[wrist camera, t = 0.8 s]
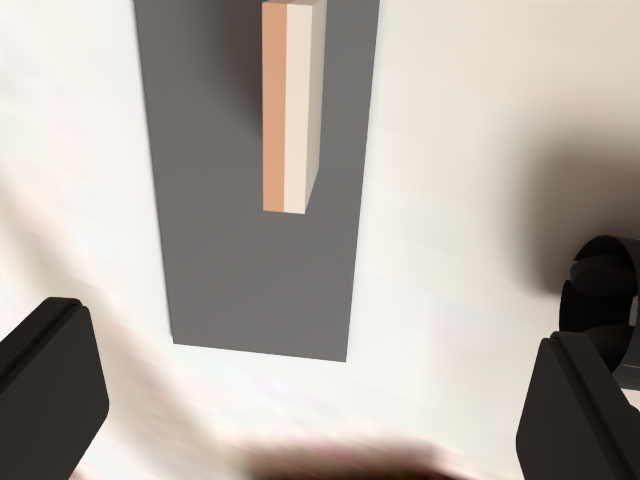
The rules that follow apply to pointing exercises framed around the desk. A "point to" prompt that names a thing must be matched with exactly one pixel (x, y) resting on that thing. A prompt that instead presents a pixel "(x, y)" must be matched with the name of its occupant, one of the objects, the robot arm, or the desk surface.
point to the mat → (252, 179)
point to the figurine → (607, 304)
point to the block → (291, 100)
